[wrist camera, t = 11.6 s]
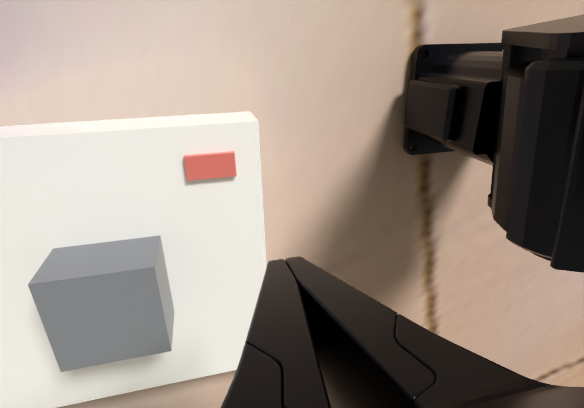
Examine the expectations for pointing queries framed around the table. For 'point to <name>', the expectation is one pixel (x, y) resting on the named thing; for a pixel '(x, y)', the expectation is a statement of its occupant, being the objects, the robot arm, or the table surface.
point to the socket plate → (129, 225)
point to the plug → (105, 302)
